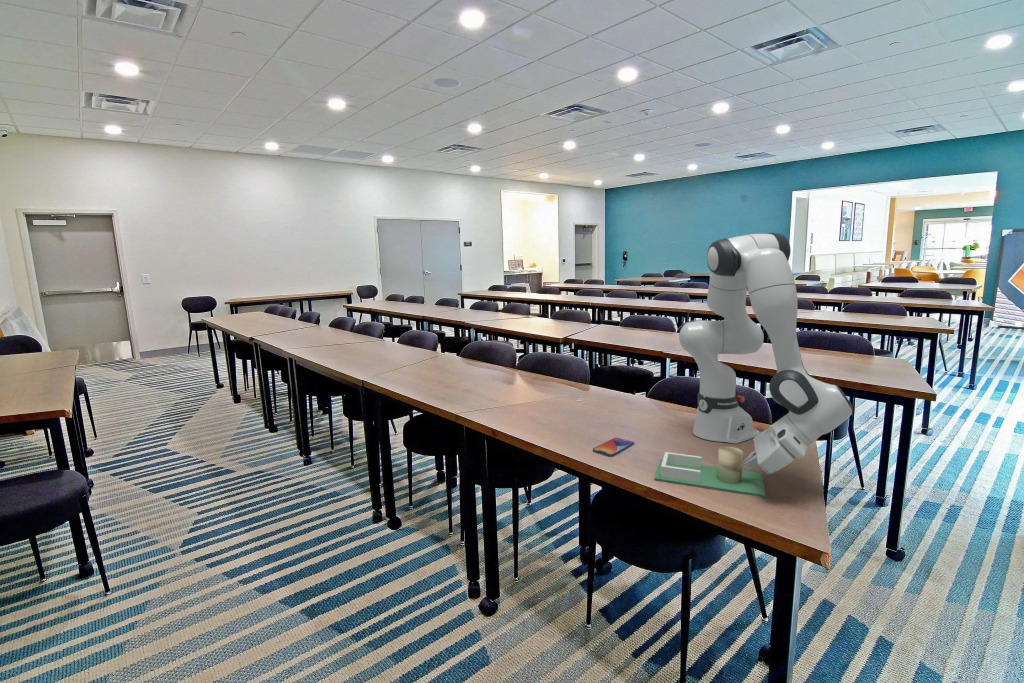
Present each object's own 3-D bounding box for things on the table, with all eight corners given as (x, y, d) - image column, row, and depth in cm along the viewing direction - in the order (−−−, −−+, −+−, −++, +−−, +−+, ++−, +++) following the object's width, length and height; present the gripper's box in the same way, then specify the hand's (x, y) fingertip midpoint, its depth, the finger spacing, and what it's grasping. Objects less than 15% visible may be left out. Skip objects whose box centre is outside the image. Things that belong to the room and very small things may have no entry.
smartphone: (635, 445, 161) (635, 442, 161) (612, 458, 150) (612, 455, 150) (615, 440, 166) (615, 437, 166) (591, 452, 155) (591, 449, 154)
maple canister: (728, 472, 137) (730, 445, 136) (746, 481, 131) (748, 452, 130) (712, 476, 135) (713, 448, 133) (729, 485, 129) (731, 456, 128)
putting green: (761, 475, 136) (762, 462, 136) (765, 497, 124) (766, 483, 123) (659, 460, 147) (660, 449, 146) (654, 480, 134) (654, 467, 133)
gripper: (776, 414, 136) (735, 443, 141) (785, 438, 117) (737, 471, 123) (793, 431, 135) (751, 460, 140) (805, 459, 116) (756, 491, 122)
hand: (744, 465), depth 131 cm, fingers closed
